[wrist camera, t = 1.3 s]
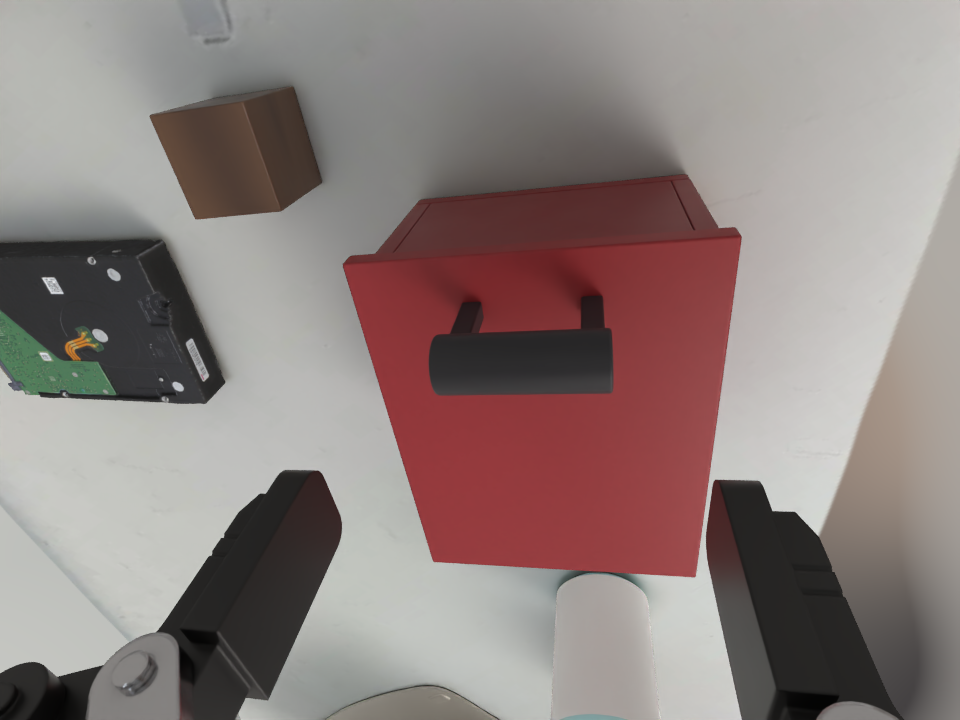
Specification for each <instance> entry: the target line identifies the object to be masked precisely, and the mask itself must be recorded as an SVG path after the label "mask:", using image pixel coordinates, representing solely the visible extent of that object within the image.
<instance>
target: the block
mask: <svg viewBox="0 0 960 720" xmlns="http://www.w3.org/2000/svg"><path fill="white" fill-rule="evenodd" d="M150 119H151V121H152V123H153V126H154V128H155V130H156V132H157V135H158V137H159V139H160V141H161V143H162V146H163V148H164V150H165V152H166V155H167V157H168V159H169V161H170V164H171V166H172V168H173V170H174V173H175V175H176V177H177V179H178V181H179V184H180V186H181V188H182V190H183V193H184V195H185V197H186V199H187V202H188V204H189V206H190V208H191V211H192V213H193V215H194V217H195V219H207V218H217V217H227V216H238V215H248V214H258V213H268V212H279V211H282V210H284V209H285V208H287V207H288V206H289V205H291V204H292V203H294V202H295V201H297V200H298V199H299V198H301V197H302V196H304V195H305V194H307V193H308V192H309V191H311V190H312V189H314V188H315V187H317V186H318V185H319V184H321V183H322V181H321V177H320V174H319V171H318V167H317V164H316V161H315V157H314V154H313V151H312V147H311V144H310V141H309V137H308V134H307V131H306V127H305V124H304V121H303V117H302V114H301V111H300V107H299V104H298V101H297V97H296V94H295V91H294V88H293V87H292V86H290V87H284V88H277V89H271V90H264V91H258V92H251V93H245V94H238V95H232V96H225V97H219V98H212V99H208V100H204V101H200V102H197V103H193V104H189V105H185V106H182V107H178V108H174V109H170V110H167V111H163V112H159V113H155V114H152V115H150Z"/></svg>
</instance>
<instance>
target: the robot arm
mask: <svg viewBox="0 0 960 720" xmlns="http://www.w3.org/2000/svg"><path fill="white" fill-rule="evenodd" d="M341 532H342V521H341V517H340V514H339V512H338V509H337V507H336V504H335V502H334V500H333V497H332V495H331V493H330V490H329V488H328V486H327V483H326V481H325V479H324V477H323V475H322V473H321V472H319V471H311V470H285V471H282V472H281V473H280V474H279V475H278V476H277V478H276V479H275V481H274V482H273V484H272V485H271V487H270V488H269V490H268V491H267V493H266V494H259V495H258V496H257V497H256V498H255V499H253V500H252V501H251V502H250V503H249V504H248V505H247V506H245V507H244V508H243V509H242V510H241V511H240V512H239V513H238V514H237V516H236V517H235V519H234V520H233V522H232V523H231V525H230V526H229V528H228V529H227V530H226V532H225V533H224V534H225V536H224V538H221V539H220V541H219V542H218V544H217V545H216V547H215V548H214V550H213V551H212V552H213V554H212V556H209V557H208V558H207V560H206V561H205V563H204V564H203V566H202V567H201V569H200V570H199V572H198V573H197V575H196V576H195V578H194V579H193V581H192V582H191V584H190V585H189V586H188V588H187V589H186V591H185V592H184V594H183V595H182V597H181V598H180V600H179V601H178V603H177V604H176V606H175V607H174V609H173V610H172V612H171V613H170V614H169V616H168V617H167V619H166V620H165V622H164V623H163V624H162V626H161V627H160V628H159V630H158V631H157V632H156V633H150V634H146V635H143V636H141V637H139V638H136V639H135V640H133V641H131V642H129V643H128V644H126V645H125V646H123V647H122V648H121V649H120V650H118V651H117V652H116V653H115V654H114V655H113V656H112V657H111V658H110V659H109V660H108V661H107V662H106V663H105V664H104V665H102V666H99V667H95V668H91V669H87V670H83V671H79V672H75V673H71V674H67V675H63V676H59V677H56V676H55V675H54V674H53V673H52V672H51V671H50V670H48V669H47V668H46V667H45V666H44V665H42V664H40V663H36V662H28V663H23V664H19V665H17V666H14V667H12V668H10V669H8V670H5V671H4V672H2V673H0V720H240V717H239V715H238V712H239V710H240V708H241V706H242V704H243V702H244V700H245V698H253V699H261V700H268V699H269V697H270V695H271V692H272V690H273V688H274V686H275V684H276V681H277V679H278V677H279V675H280V673H281V670H282V668H283V666H284V664H285V662H286V659H287V657H288V655H289V653H290V651H291V648H292V646H293V644H294V642H295V640H296V638H297V635H298V633H299V631H300V629H301V627H302V624H303V622H304V620H305V618H306V616H307V613H308V611H309V609H310V607H311V605H312V602H313V600H314V598H315V596H316V594H317V591H318V589H319V587H320V585H321V583H322V580H323V578H324V576H325V574H326V572H327V569H328V567H329V565H330V563H331V561H332V558H333V556H334V554H335V552H336V550H337V547H338V545H339V542H340V538H341ZM706 550H707V559H708V565H709V570H710V575H711V579H712V584H713V589H714V593H715V598H716V602H717V607H718V611H719V616H720V621H721V625H722V630H723V634H724V639H725V644H726V648H727V653H728V657H729V662H730V667H731V671H732V676H733V680H734V685H735V690H736V694H737V699H738V703H739V708H740V713H741V717H742V720H904V719H903V718H902V717H901V716H900V714H899V713H898V711H897V710H896V708H895V707H894V705H893V704H892V702H891V700H890V698H889V696H888V694H887V692H886V690H885V687H884V686H883V683H882V680H881V678H880V676H879V674H878V671H877V669H876V667H875V664H874V662H873V660H872V658H871V655H870V653H869V651H868V648H867V646H866V644H865V642H864V639H863V637H862V635H861V632H860V630H859V628H858V625H857V623H856V621H855V619H854V616H853V614H852V612H851V609H850V607H849V605H848V602H847V600H846V598H845V597H843V595H842V589H841V587H840V584H839V582H838V580H837V577H836V575H835V573H834V572H832V566H831V564H830V561H829V559H828V557H827V554H826V552H825V550H824V547H823V545H822V543H821V540H820V538H819V537H818V536H817V534H816V533H815V532H814V531H813V530H812V529H811V528H810V527H809V526H808V525H807V524H806V523H805V522H804V521H803V520H802V519H801V518H800V517H799V516H798V515H797V513H796V512H779V511H772V509H771V506H770V504H769V501H768V498H767V495H766V493H765V490H764V488H763V486H762V484H761V483H760V482H759V481H744V480H715V481H714V483H713V488H712V495H711V502H710V509H709V517H708V524H707V531H706Z"/></svg>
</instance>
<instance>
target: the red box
mask: <svg viewBox="0 0 960 720" xmlns="http://www.w3.org/2000/svg"><path fill="white" fill-rule="evenodd" d="M717 228H718V226H717V224H716V223H715V221H714V219H713V218H712V216H711V214H710V212H709V211H708V209H707V207H706V205H705V204H704V202H703V200H702V199H701V197H700V195H699V193H698V192H697V190H696V188H695V187H694V185H693V183H692V181H691V180H690V179H689V177H688V175H686V174H684V175H674V176H663V177H653V178H643V179H632V180H622V181H611V182H601V183H590V184H580V185H570V186H559V187H549V188H538V189H528V190H518V191H507V192H497V193H486V194H476V195H466V196H455V197H445V198H434V199H424V200H419V201H418V203H417V204H416V205H415V206H414V207H413V208H412V210H411V211H410V212H409V213H408V215H407V216H406V217H405V218H404V219H403V221H402V222H401V223H400V224H399V225H398V227H397V228H396V229H395V230H394V232H393V233H392V234H391V235H390V236H389V238H388V239H387V240H386V241H385V242H384V244H383V245H382V246H381V247H380V248H379V250H378V251H377V252H376V253H375V254H381V253H394V252H408V251H421V250H435V249H448V248H462V247H475V246H489V245H502V244H516V243H529V242H542V241H556V240H569V239H583V238H596V237H610V236H623V235H637V234H650V233H663V232H677V231H690V230H704V229H717Z"/></svg>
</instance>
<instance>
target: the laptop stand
mask: <svg viewBox="0 0 960 720" xmlns="http://www.w3.org/2000/svg"><path fill="white" fill-rule="evenodd" d="M326 720H498V719H496V718H495V717H493V716H492V715H490V714H488V713H487V712H485V711H483V710H482V709H480V708H479V707H477V706H475V705H474V704H472V703H470V702H469V701H467V700H466V699H464V698H462V697H460V696H459V695H457V694H455V693H453V692H451V691H449V690H446V689H443V688H440V687H434V686H421V687H414V688H409V689H404V690H399V691H394V692H390V693H386V694H382V695H379V696H376V697H372V698H369V699H366V700H363V701H361V702H358V703H355V704H353V705H350V706H348V707H346V708H344V709H342V710H340V711H338V712H336V713H335V714H333V715H331V716H330V717H328V718H327V719H326Z"/></svg>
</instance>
